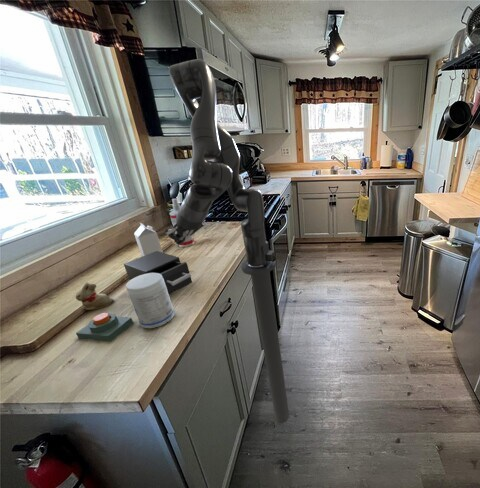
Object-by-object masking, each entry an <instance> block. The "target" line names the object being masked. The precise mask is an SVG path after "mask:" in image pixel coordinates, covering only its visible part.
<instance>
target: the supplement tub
mask: <svg viewBox="0 0 480 488" xmlns="http://www.w3.org/2000/svg"><path fill="white" fill-rule="evenodd" d="M125 289H126V292H127V296H128V298H129V300H130V302H131V305H132V308H133V310H134V312H135V315H136V317H137V320H138V322H139V325H140V326H141V327H142V328H145V329H155V328H159V327H161V326H164V325H166V324H167V323H169V322H170V321H171V320H172V319H173V317H174V315H175V310H174V306H173V304H172V301H171V298H170V295H169V294H168V291H167V288H166V285H165V282H164V279H163V277H162V275H161V274H159V273H148V274H143V275H140V276H137V277H135V278H133V279H131V280H130V279H129V280H128V281H127V283H126V284H125Z"/></svg>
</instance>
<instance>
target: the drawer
mask: <svg viewBox="0 0 480 488" xmlns="http://www.w3.org/2000/svg"><path fill="white" fill-rule="evenodd" d="M149 273H159V274H161V275H162V277H163V279H164V282H165V285H166V288H167V291H168V294H169V296H170V295H172V294H174V293H176V292H177V291H180V290H181V289H183V288H185V287H186V286H189V285H190V284H192V283H193V280H192V274H191V272H190V269H189V266H188V262H186V261H184V262H181V261H180V262H177V261H174V262H172V263H170V264H167V265H165V266H163V267H161V268H158V269H156V270H154V271H152V272H149Z"/></svg>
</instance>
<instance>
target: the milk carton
mask: <svg viewBox="0 0 480 488" xmlns="http://www.w3.org/2000/svg"><path fill="white" fill-rule="evenodd" d="M133 235H134V239H135V241H136V243H137V246H138V249H139V252H140V255H141V257H143V256H145V255H148V254H150V253H153V252H155V251H159V252H162V253H164V252H163V248H162V245H161V241H160V240H159V239H160V238H159V236H158V233H157V232H156V231H155V230H154V229H153V226H151V225H147V226H146V225H145V224H144V223H142V222H139V227H137V229H136V230H135V231H134V232H133Z"/></svg>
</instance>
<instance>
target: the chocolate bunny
mask: <svg viewBox="0 0 480 488" xmlns="http://www.w3.org/2000/svg"><path fill="white" fill-rule="evenodd" d="M96 288H97V284H96V283H92V282H89V281H87V282H85V283H84V285H83V286H82V288H81V289H80V290H78V291H77V292H76V293H75V300H77V301H79V302H81V303H82V304H81V305H82V306H83V307H85V309H84V310H86V311H93V310H98V309H101V308H104V307H107V306H109V305H110V304H112V303H114V299H113V298H111V297H110V296H108V295H107V294H105V293H97V292H96Z"/></svg>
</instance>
